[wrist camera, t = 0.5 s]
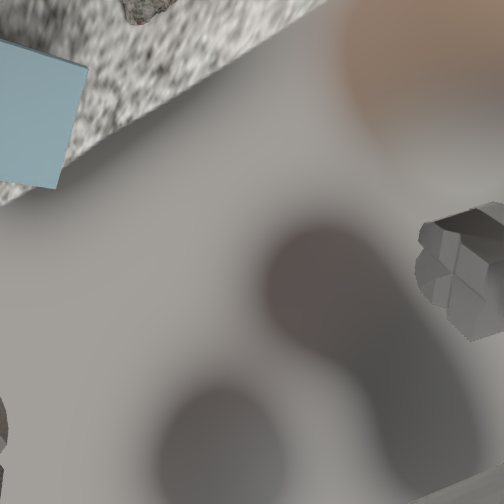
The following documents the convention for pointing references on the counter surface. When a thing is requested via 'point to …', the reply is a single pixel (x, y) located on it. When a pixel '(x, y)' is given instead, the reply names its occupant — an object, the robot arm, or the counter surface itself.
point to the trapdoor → (36, 113)
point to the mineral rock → (144, 9)
